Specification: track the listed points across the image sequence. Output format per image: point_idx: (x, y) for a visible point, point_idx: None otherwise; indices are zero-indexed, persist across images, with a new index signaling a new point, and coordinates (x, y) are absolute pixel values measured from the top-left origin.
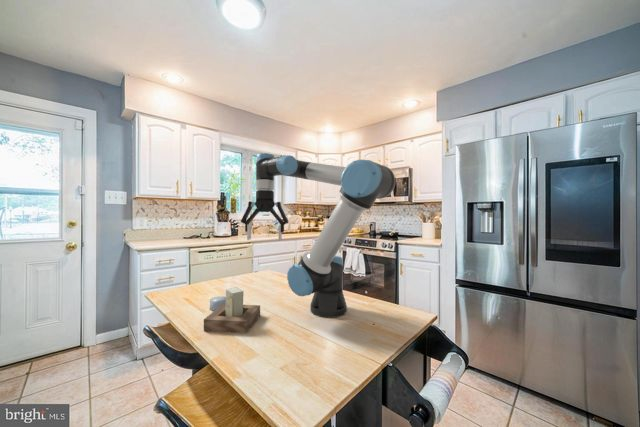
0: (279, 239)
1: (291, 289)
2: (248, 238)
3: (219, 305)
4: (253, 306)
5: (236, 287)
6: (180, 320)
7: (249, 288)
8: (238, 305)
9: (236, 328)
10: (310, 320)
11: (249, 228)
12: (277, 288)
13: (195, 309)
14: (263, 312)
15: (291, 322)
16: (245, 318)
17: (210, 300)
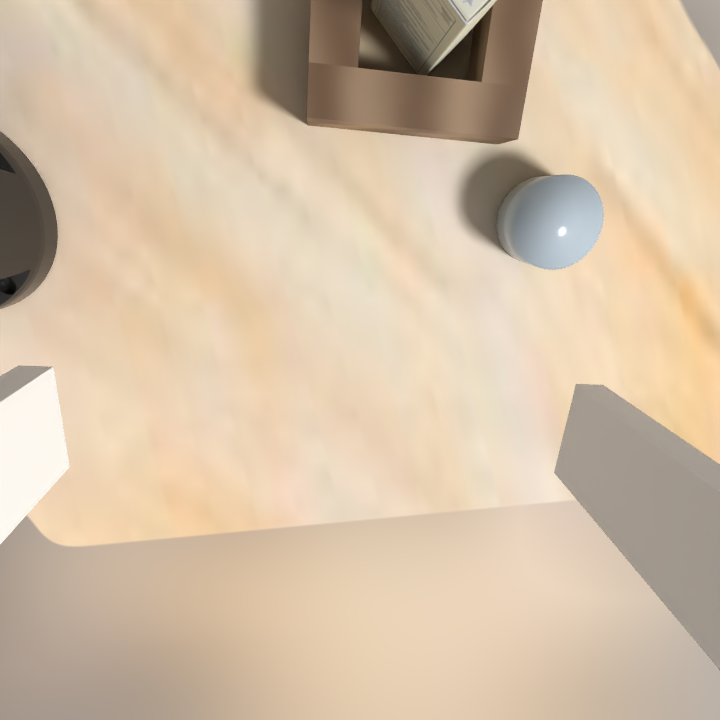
0: (24, 370)
1: None
2: (595, 392)
3: (537, 180)
4: (340, 97)
5: (465, 19)
6: (677, 50)
7: (452, 502)
8: None
9: None
10: (17, 60)
11: (717, 526)
12: (311, 515)
13: (642, 200)
14: (301, 171)
15: (116, 29)
16: None
17: (598, 199)
